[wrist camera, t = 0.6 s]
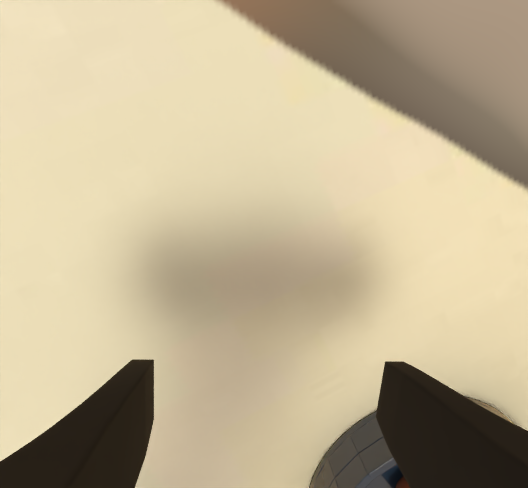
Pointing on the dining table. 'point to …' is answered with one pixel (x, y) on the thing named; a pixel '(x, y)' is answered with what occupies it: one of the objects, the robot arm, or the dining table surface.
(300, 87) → the dining table surface
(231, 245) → the dining table surface
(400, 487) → the sausage
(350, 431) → the bowl
